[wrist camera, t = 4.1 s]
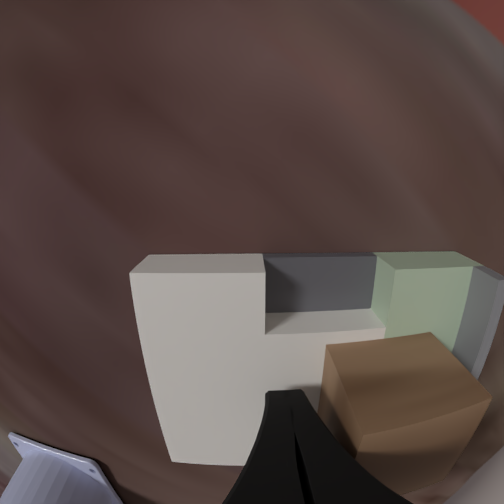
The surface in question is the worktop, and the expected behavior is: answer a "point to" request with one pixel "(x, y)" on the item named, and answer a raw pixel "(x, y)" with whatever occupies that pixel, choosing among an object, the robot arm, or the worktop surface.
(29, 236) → the worktop surface
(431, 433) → the walnut block
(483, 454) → the worktop surface
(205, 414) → the board
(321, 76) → the worktop surface
